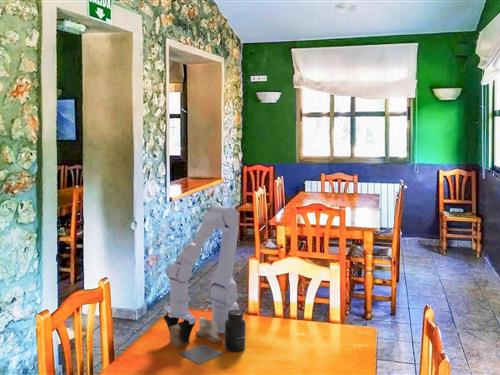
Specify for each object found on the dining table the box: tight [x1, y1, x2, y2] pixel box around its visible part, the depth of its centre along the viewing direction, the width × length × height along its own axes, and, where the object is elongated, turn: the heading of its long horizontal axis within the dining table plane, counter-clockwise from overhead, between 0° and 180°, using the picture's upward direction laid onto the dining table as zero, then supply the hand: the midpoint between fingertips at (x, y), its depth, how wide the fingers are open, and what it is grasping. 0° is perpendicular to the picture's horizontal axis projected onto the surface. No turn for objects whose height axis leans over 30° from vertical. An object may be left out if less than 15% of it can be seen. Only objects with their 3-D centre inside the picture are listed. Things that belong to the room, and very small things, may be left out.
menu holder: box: [195, 316, 223, 344], centre depth 173 cm, size 10×3×6 cm, turn 45°
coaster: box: [178, 343, 224, 365], centre depth 161 cm, size 10×10×1 cm
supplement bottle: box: [223, 309, 247, 353], centre depth 165 cm, size 7×7×12 cm
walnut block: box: [169, 324, 190, 349], centre depth 169 cm, size 4×4×6 cm
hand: (179, 338), depth 169 cm, fingers open, 6 cm apart
